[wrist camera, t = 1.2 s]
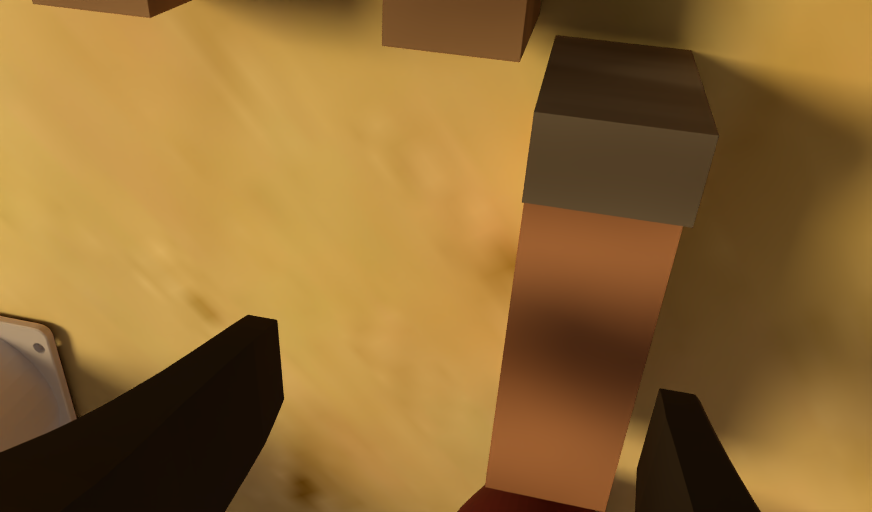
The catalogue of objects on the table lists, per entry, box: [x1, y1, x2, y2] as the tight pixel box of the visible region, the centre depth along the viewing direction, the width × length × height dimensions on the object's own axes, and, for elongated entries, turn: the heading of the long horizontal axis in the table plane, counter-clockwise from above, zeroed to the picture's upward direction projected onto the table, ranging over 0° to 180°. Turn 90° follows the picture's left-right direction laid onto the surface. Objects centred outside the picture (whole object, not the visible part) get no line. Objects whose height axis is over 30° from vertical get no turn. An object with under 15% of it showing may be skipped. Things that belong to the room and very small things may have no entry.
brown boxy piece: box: [485, 35, 719, 512], centre depth 19 cm, size 12×4×6 cm, turn 177°
